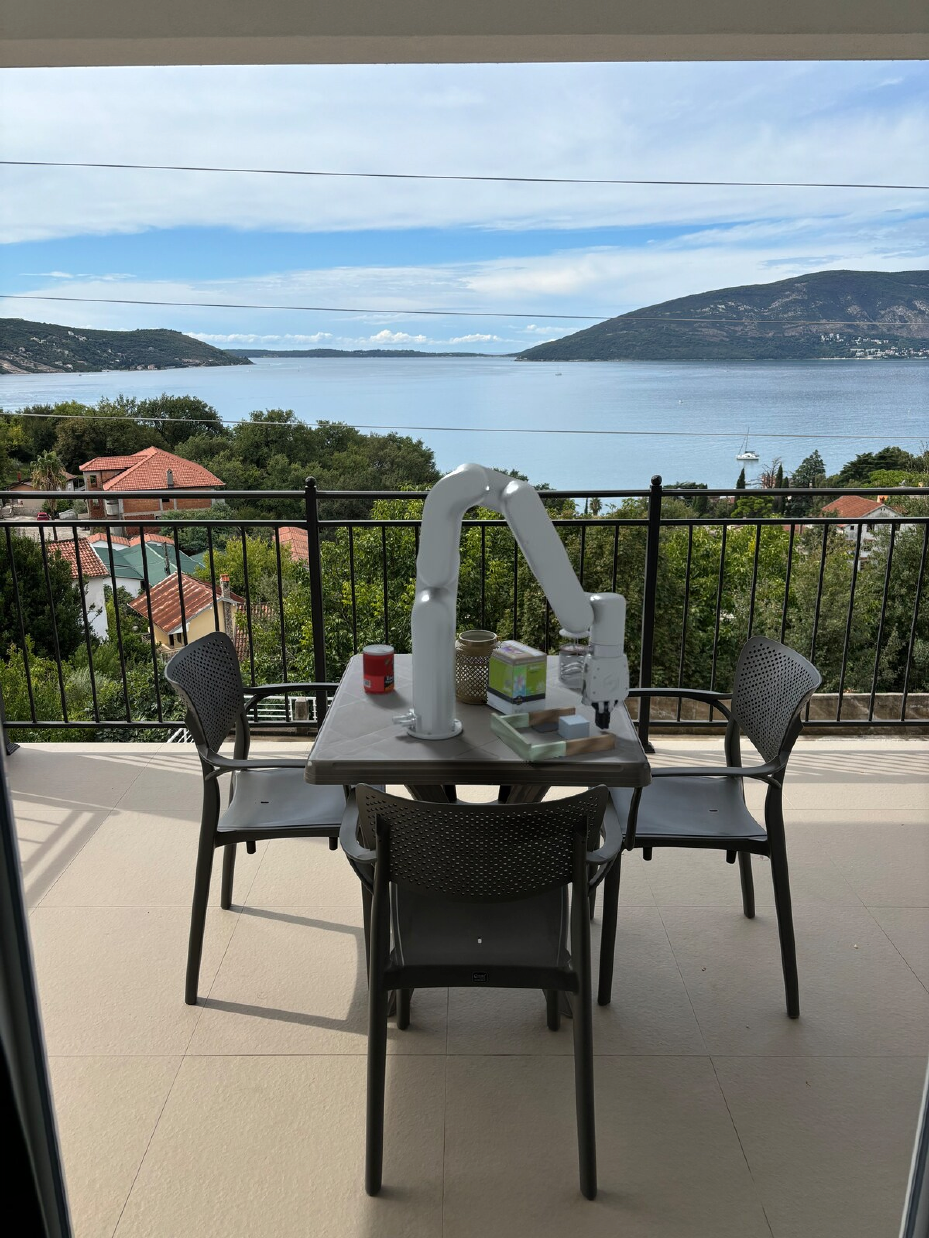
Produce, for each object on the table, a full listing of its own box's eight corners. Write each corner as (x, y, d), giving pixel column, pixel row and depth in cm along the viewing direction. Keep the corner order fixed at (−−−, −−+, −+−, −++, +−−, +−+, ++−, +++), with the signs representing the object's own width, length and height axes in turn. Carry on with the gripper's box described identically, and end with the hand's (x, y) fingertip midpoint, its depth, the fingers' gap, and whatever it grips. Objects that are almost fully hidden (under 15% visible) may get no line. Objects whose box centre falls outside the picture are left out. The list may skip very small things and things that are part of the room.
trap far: (539, 732, 195) (539, 731, 195) (530, 726, 199) (530, 725, 199) (563, 729, 197) (563, 728, 197) (554, 722, 202) (554, 721, 201)
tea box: (546, 712, 208) (548, 653, 205) (511, 719, 203) (512, 659, 200) (512, 694, 221) (514, 637, 217) (478, 700, 216) (479, 643, 212)
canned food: (390, 695, 219) (390, 653, 216) (359, 693, 220) (358, 651, 217) (397, 685, 226) (397, 645, 224) (367, 684, 228) (367, 643, 225)
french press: (552, 676, 235) (556, 585, 228) (596, 677, 234) (600, 586, 228) (555, 688, 225) (558, 594, 219) (600, 689, 225) (604, 594, 218)
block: (568, 741, 191) (569, 724, 190) (558, 733, 195) (558, 717, 194) (588, 738, 193) (589, 721, 192) (578, 730, 197) (578, 714, 196)
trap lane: (526, 762, 180) (527, 744, 179) (490, 729, 197) (490, 713, 196) (615, 748, 187) (616, 730, 186) (573, 718, 204) (573, 702, 203)
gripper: (584, 657, 186) (581, 737, 190) (644, 650, 191) (639, 728, 196) (567, 647, 193) (564, 725, 197) (626, 641, 198) (622, 717, 202)
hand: (602, 727), depth 196 cm, fingers closed
